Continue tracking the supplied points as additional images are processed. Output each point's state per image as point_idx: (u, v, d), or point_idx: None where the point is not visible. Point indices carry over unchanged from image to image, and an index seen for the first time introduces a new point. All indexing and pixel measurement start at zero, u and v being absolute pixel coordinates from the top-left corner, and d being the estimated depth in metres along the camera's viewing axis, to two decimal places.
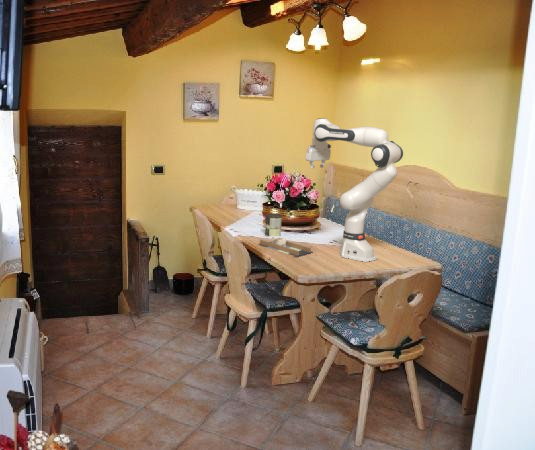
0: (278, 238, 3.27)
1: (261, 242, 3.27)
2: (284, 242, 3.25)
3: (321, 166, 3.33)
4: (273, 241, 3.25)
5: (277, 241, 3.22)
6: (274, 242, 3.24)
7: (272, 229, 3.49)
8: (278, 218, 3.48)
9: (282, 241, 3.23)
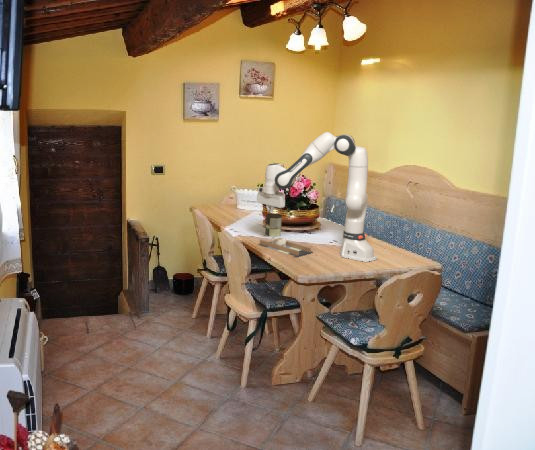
0: (278, 238, 3.27)
1: (261, 242, 3.27)
2: (284, 242, 3.25)
3: None
4: (273, 241, 3.25)
5: (277, 241, 3.22)
6: (274, 242, 3.24)
7: (272, 229, 3.49)
8: (278, 218, 3.48)
9: (282, 241, 3.23)
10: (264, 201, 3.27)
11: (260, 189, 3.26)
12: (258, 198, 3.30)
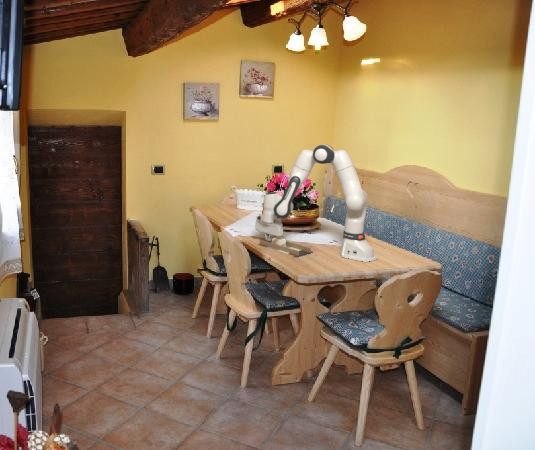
0: (278, 238, 3.27)
1: (261, 242, 3.27)
2: (284, 242, 3.25)
3: None
4: (273, 241, 3.25)
5: (277, 241, 3.22)
6: (274, 242, 3.24)
7: None
8: (278, 218, 3.48)
9: (282, 241, 3.23)
10: (262, 229, 3.31)
11: (258, 217, 3.30)
12: (256, 226, 3.34)
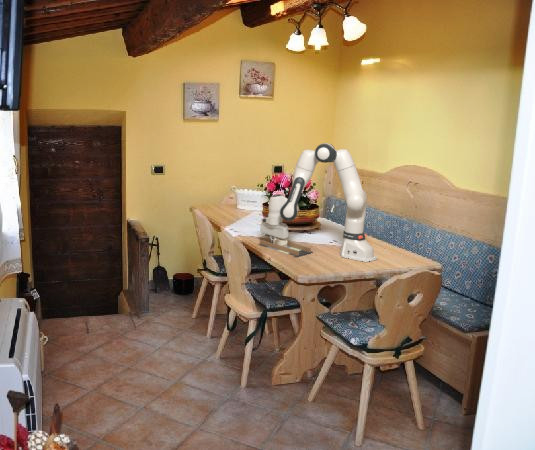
0: (279, 238, 3.26)
1: (261, 242, 3.27)
2: (285, 242, 3.24)
3: None
4: (274, 241, 3.24)
5: (278, 241, 3.22)
6: (275, 242, 3.23)
7: None
8: None
9: (283, 241, 3.23)
10: (268, 231, 3.29)
11: (263, 220, 3.28)
12: (262, 228, 3.32)
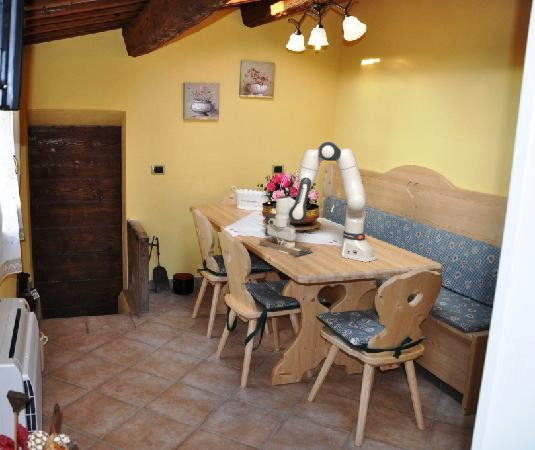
0: (287, 240, 3.22)
1: (261, 242, 3.27)
2: (293, 245, 3.20)
3: None
4: (282, 244, 3.20)
5: (286, 244, 3.18)
6: (283, 245, 3.19)
7: None
8: None
9: (291, 244, 3.19)
10: (275, 233, 3.25)
11: (271, 221, 3.24)
12: (268, 230, 3.28)
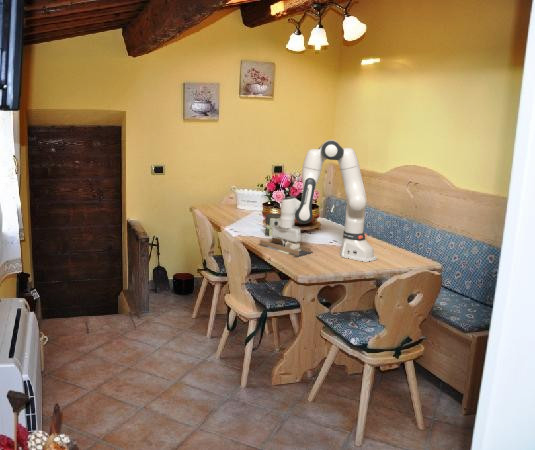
0: (292, 242, 3.19)
1: (261, 242, 3.27)
2: (298, 246, 3.18)
3: None
4: (287, 245, 3.17)
5: (291, 245, 3.15)
6: (288, 246, 3.17)
7: None
8: (278, 218, 3.48)
9: (296, 245, 3.16)
10: (279, 235, 3.22)
11: (275, 223, 3.21)
12: (273, 231, 3.25)
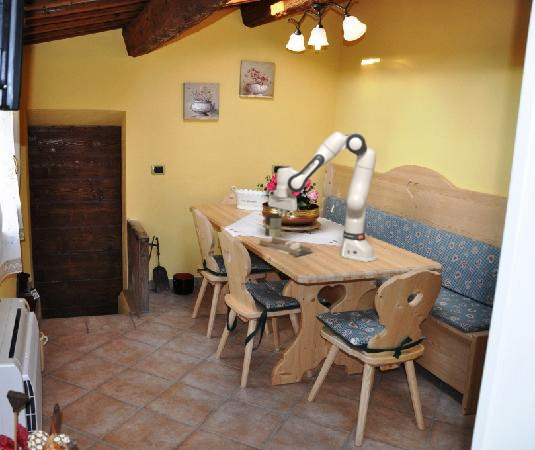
0: (292, 242, 3.19)
1: (261, 242, 3.27)
2: (298, 246, 3.18)
3: None
4: (287, 245, 3.17)
5: (291, 245, 3.15)
6: (288, 246, 3.17)
7: (272, 229, 3.49)
8: (278, 218, 3.48)
9: (296, 245, 3.16)
10: (276, 204, 3.23)
11: (271, 192, 3.22)
12: (269, 201, 3.26)
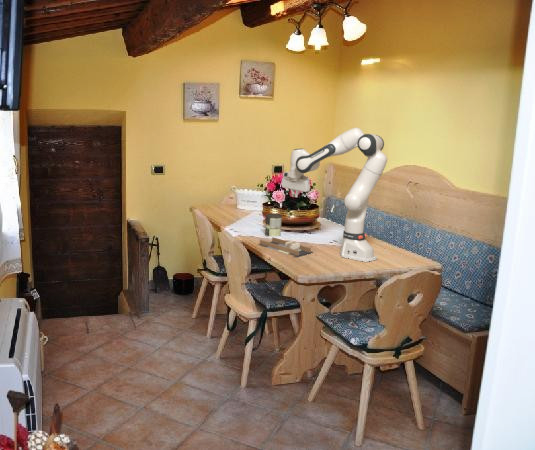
0: (292, 242, 3.19)
1: (261, 242, 3.27)
2: (298, 246, 3.18)
3: None
4: (287, 245, 3.17)
5: (291, 245, 3.15)
6: (288, 246, 3.17)
7: (272, 229, 3.49)
8: (278, 218, 3.48)
9: (296, 245, 3.16)
10: (289, 186, 3.34)
11: (285, 174, 3.34)
12: (283, 183, 3.37)
